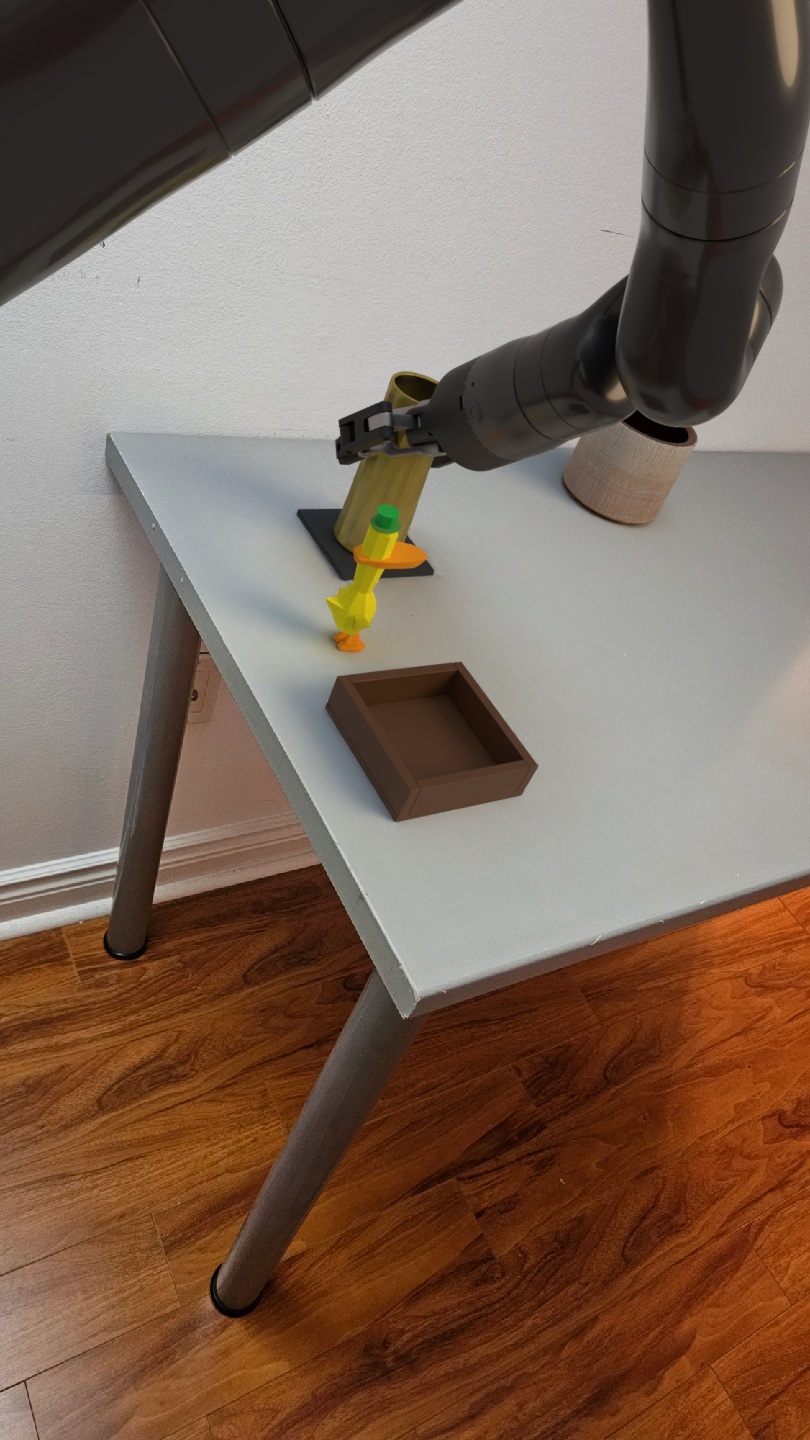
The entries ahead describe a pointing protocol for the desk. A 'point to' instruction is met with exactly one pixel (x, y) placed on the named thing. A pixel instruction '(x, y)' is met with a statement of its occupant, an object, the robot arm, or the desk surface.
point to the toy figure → (370, 576)
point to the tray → (429, 739)
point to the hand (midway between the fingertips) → (387, 453)
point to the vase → (387, 472)
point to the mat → (338, 556)
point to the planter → (628, 467)
